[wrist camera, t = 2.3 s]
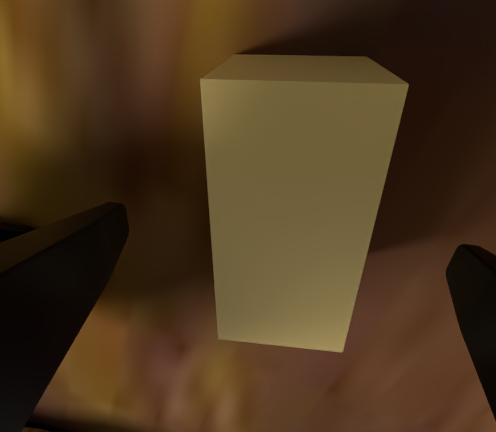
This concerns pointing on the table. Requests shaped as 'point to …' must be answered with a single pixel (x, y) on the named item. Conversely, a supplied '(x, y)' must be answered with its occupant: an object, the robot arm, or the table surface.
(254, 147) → the block
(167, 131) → the table surface
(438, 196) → the table surface
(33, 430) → the wooden carving
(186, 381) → the table surface
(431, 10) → the table surface
